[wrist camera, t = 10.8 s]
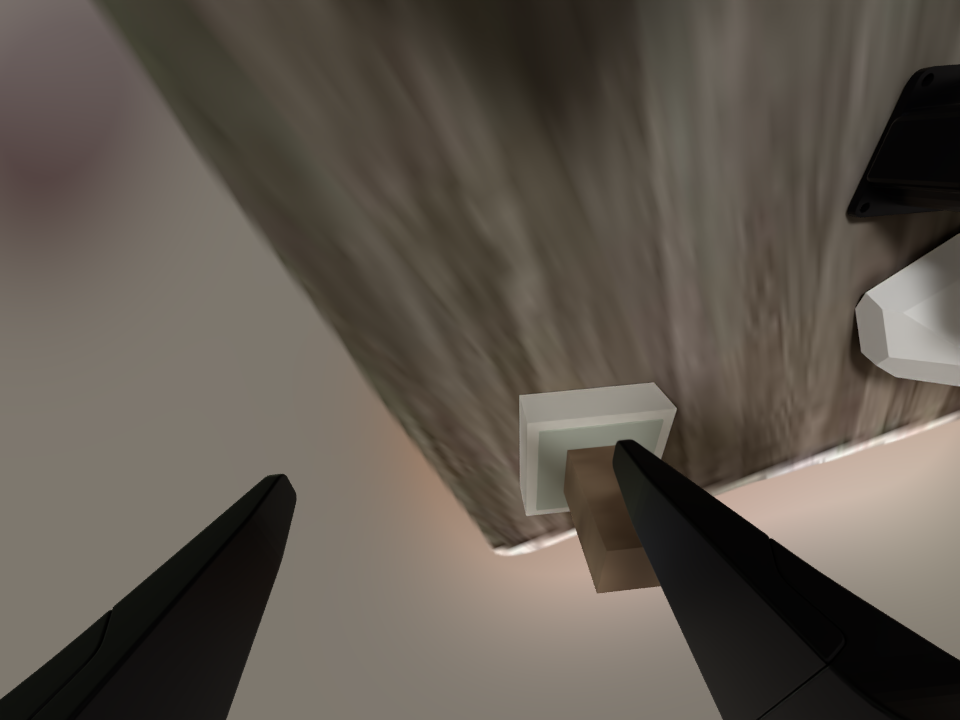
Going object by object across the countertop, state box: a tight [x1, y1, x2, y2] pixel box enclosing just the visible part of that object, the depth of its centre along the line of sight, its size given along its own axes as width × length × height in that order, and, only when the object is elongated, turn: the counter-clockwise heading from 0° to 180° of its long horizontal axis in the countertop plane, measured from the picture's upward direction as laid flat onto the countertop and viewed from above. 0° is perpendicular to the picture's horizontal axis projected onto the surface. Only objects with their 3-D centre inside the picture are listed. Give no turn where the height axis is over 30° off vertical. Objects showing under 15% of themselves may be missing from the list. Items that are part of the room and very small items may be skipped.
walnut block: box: [564, 445, 661, 593], centre depth 22 cm, size 4×4×7 cm
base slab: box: [519, 382, 677, 516], centre depth 26 cm, size 10×10×3 cm
